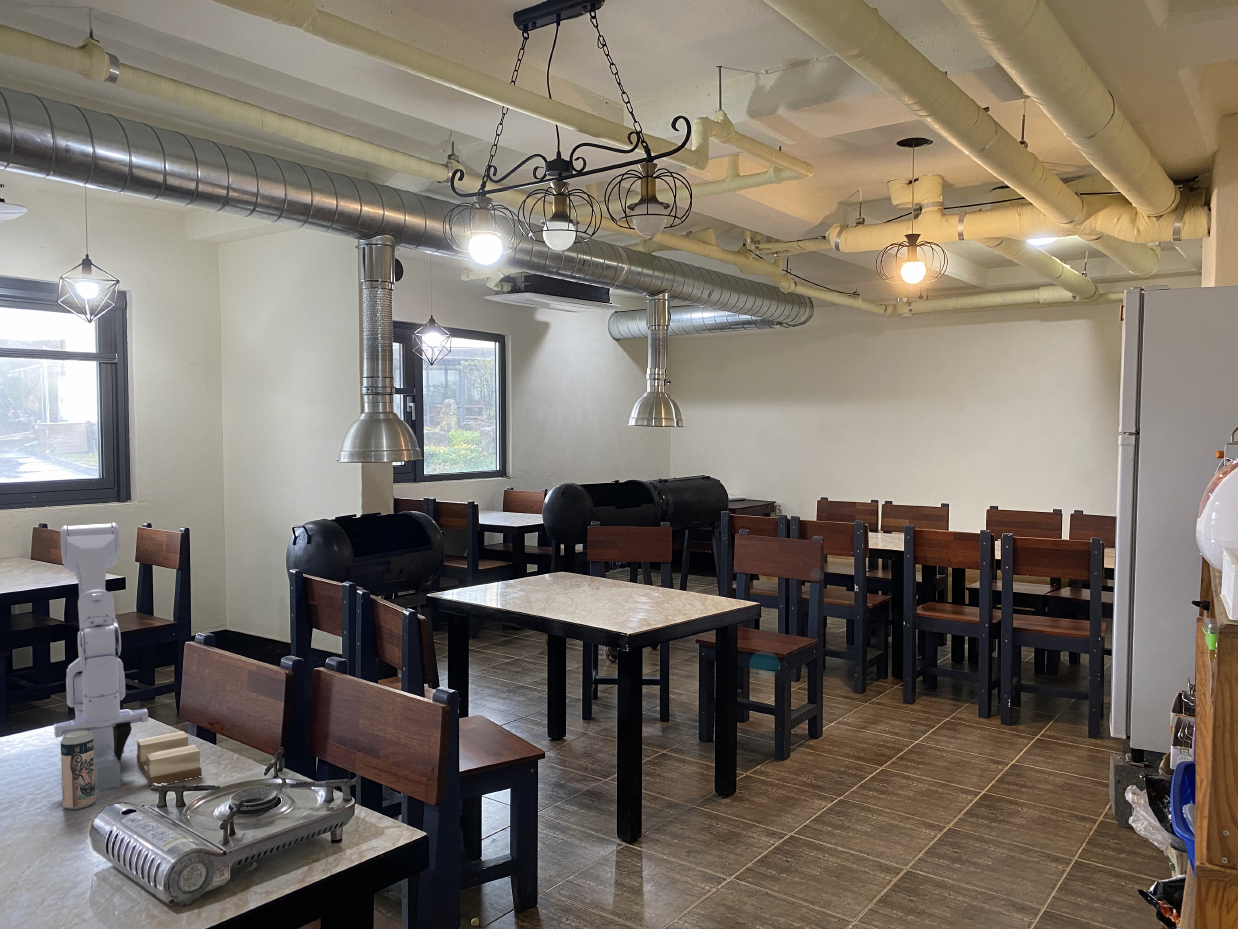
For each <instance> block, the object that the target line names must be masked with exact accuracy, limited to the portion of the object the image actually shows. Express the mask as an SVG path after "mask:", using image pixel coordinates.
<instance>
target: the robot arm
mask: <svg viewBox="0 0 1238 929" xmlns="http://www.w3.org/2000/svg"><path fill="white" fill-rule="evenodd" d="M119 552H120V529H119V525H118V524H117V523H116V522H111V523H98V524H84V525H83V524H82V525H81V524H80V525H68V526H67V525H63V526H61V528H60V553H61V562H62V564H63V569H65V570H67V571H71V572H73V573H74V574H75V575H74V576H75V577H76V580H77V583H78V600H77V610H78V622H79V631H78V632H77V651H78V654H77V655H78V658H77V659H75V660H74V661H73V662H71V663H70V664H69V665H68V666H67V669H66V677H65V682H66V683H65V686H66V687H65V688H66V703H67V706H68V707H69V708H74V713H75V717H74V718H75V719H72V720H68V721H63V722H59V723H54V724H53V726H54V727H53V728H54V729H53V730H54V736H55V738H56V739H57V738H63V736H64V734H66V733H68V732H71V731H76V730H90V731H91V733H92V734H93V736H94V747H95V746H101V745H106V744H110V746H111V748H112V750H113V751H114V753H115V755H116V757H117V759H118V761H119V763H120V764H121V761H122V755H123V753H124V751H125V745H126V743H127V741H128V739H129V737H130V734H132V729H133V728H132V724H135V723H147V722H149V711H148V709H147V708H141V709H135V710H123V711H122V710H121V702H120V701H122V700H124V698H125V696H126V677H125V671H124V670H125V669H124V663H123V661H122V659H120V658H119V656H120V655H121V650H122V638H121V630H120V626H119V624H118V620H117V618H116V612H115V611H116V610H115V600H114V595H113V594H112V593H111V592H109V591H108V590H106V579H107V578H106V573H107V572H106V571H107V570H108V569H109V568H112V567H113V566H115V565H117V561H118V560H119ZM116 650H117V654H116ZM79 672H81V673H79Z"/></svg>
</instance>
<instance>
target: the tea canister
mask: <svg viewBox="0 0 1238 929" xmlns="http://www.w3.org/2000/svg"><path fill="white" fill-rule="evenodd" d="M59 743H60V761H61V764H60V765H61V767H60V768H61V787H62V788H61V789H62V790H61V791H62V807H63V808H65V809H68V810H71V811H72V810H73V811H74V810H75V811H76V810H82V809H84V808H87V807H90V806H91V805H92V804H94V803H95V802H96V800H97V795H96V785H95V763H94V736H93V734H92V733H91V731H90V730H76V731H71V732H68V733H66V734H64V735H63V736H62V739H61V740H60V742H59Z"/></svg>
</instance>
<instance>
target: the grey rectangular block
mask: <svg viewBox="0 0 1238 929" xmlns="http://www.w3.org/2000/svg"><path fill="white" fill-rule="evenodd" d="M94 763H95V789H96V790H97V792H98V791H104V790H108V789H112V788H117V787H121V784H122V783H121V762H120V763H119V761H118V759H117V757H116V755H115V753H114V751H113V750H112V748H111V746H110V744H106V745H101V746H95V747H94Z"/></svg>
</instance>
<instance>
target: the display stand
mask: <svg viewBox="0 0 1238 929" xmlns="http://www.w3.org/2000/svg"><path fill="white" fill-rule="evenodd" d="M136 744H137V745H136V746H137V751H136V752H137V754H136V763H137V765H138V766H139V768H140V770H141V772H142V773H143V775H144V777H145V779H146V780H147V782H148V783H149V785H150V786H151V784H153V783H157V784H161V783H171V782H172V783H171V784H175V783H174V782H175V781H179V782H178V783H181V782H185V781H186V780H185V779H189V778H195V777H199V776H202V777H203V775H202V774H203V773H202V768H201V751H200V749H199V748H198V747H197V745H196V744H192V745H189V736H188V735H187V733H186V732H185V730H184V731H183V730H182V731H178V732H172V733H171V732H170V733H167V734H161V735H156V736H151V737H150V736H149V737H145V738H140V739H136ZM199 778H200V777H199ZM195 779H196V778H195ZM184 780H185V781H184Z"/></svg>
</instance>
